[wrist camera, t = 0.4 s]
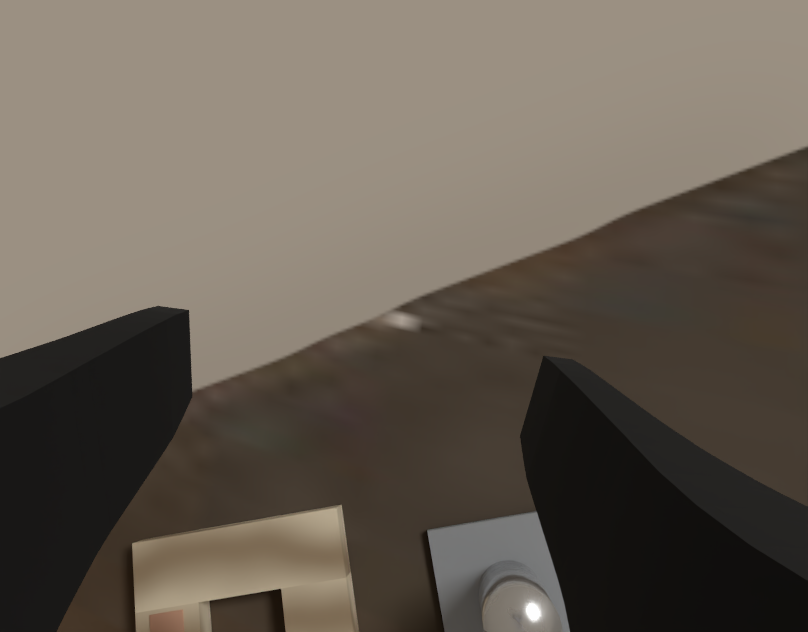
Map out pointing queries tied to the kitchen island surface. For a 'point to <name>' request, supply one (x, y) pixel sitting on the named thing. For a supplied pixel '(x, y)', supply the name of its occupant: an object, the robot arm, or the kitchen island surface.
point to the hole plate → (248, 572)
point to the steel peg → (515, 600)
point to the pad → (487, 564)
